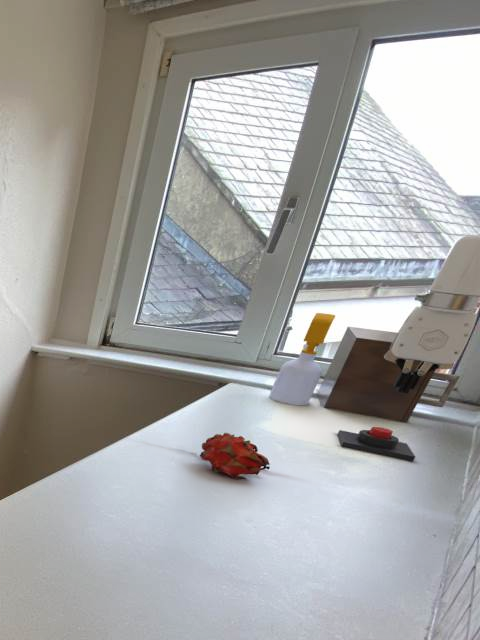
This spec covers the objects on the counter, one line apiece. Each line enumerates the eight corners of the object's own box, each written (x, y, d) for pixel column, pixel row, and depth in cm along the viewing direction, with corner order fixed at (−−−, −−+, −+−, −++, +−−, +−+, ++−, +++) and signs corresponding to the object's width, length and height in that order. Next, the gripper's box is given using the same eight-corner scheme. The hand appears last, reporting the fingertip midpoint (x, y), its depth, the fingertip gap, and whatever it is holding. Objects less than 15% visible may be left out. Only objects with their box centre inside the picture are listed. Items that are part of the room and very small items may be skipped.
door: (415, 409, 155) (454, 340, 146) (431, 430, 139) (476, 353, 130) (387, 405, 158) (423, 336, 149) (400, 424, 142) (441, 349, 133)
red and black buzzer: (401, 452, 124) (411, 435, 123) (410, 466, 117) (420, 449, 115) (335, 438, 130) (342, 422, 129) (339, 450, 123) (347, 434, 121)
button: (387, 436, 123) (391, 429, 122) (390, 441, 120) (394, 433, 119) (367, 432, 124) (370, 425, 124) (369, 436, 122) (373, 429, 121)
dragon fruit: (189, 466, 114) (250, 496, 107) (187, 453, 108) (252, 484, 100) (215, 433, 114) (278, 461, 106) (215, 418, 107) (282, 446, 100)
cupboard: (386, 405, 158) (422, 335, 149) (399, 425, 142) (441, 348, 133) (317, 393, 166) (347, 326, 157) (322, 410, 150) (356, 337, 141)
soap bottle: (308, 404, 155) (348, 315, 144) (304, 410, 149) (346, 318, 138) (270, 396, 161) (306, 310, 150) (265, 402, 155) (302, 313, 144)
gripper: (403, 299, 110) (358, 387, 118) (508, 310, 103) (453, 403, 111) (396, 296, 116) (354, 380, 124) (496, 306, 108) (444, 395, 116)
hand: (401, 391), depth 117 cm, fingers closed
